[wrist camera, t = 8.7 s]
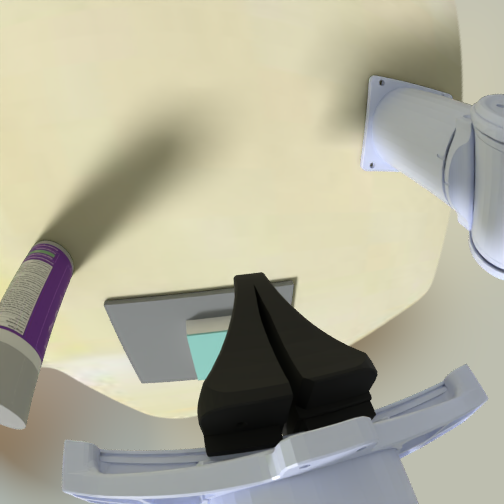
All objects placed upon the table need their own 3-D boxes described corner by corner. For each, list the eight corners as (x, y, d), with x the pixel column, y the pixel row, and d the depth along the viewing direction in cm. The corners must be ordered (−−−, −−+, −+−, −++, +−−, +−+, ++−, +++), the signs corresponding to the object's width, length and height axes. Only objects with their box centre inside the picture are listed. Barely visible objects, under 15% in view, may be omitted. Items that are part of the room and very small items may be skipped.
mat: (291, 280, 29) (293, 284, 28) (281, 363, 37) (282, 367, 36) (104, 300, 26) (103, 305, 25) (141, 379, 34) (141, 383, 33)
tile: (255, 327, 28) (186, 336, 27) (254, 372, 32) (198, 380, 31) (251, 312, 29) (186, 320, 28) (251, 359, 34) (196, 366, 33)
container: (75, 286, 24) (36, 436, 12) (33, 278, 23) (-20, 417, 11) (73, 244, 22) (13, 405, 10) (27, 236, 20) (-49, 381, 8)
